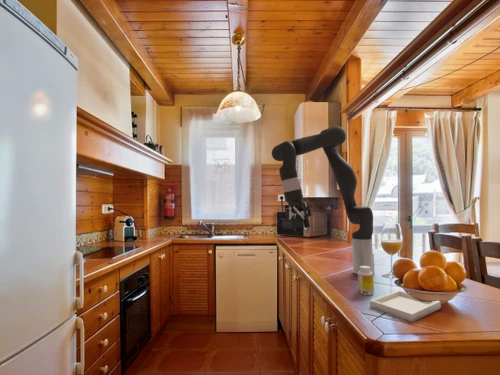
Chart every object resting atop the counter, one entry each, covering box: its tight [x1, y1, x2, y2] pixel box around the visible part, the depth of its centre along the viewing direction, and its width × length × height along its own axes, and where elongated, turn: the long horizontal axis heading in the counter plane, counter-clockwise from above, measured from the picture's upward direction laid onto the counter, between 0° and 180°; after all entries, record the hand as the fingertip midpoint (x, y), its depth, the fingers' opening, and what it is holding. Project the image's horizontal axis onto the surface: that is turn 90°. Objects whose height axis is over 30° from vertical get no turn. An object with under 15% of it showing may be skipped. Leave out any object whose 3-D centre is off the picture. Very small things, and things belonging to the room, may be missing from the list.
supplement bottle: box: [357, 266, 375, 296], centre depth 105 cm, size 6×6×10 cm
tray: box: [369, 289, 442, 323], centre depth 90 cm, size 18×14×2 cm
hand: (300, 227), depth 110 cm, fingers open, 8 cm apart
